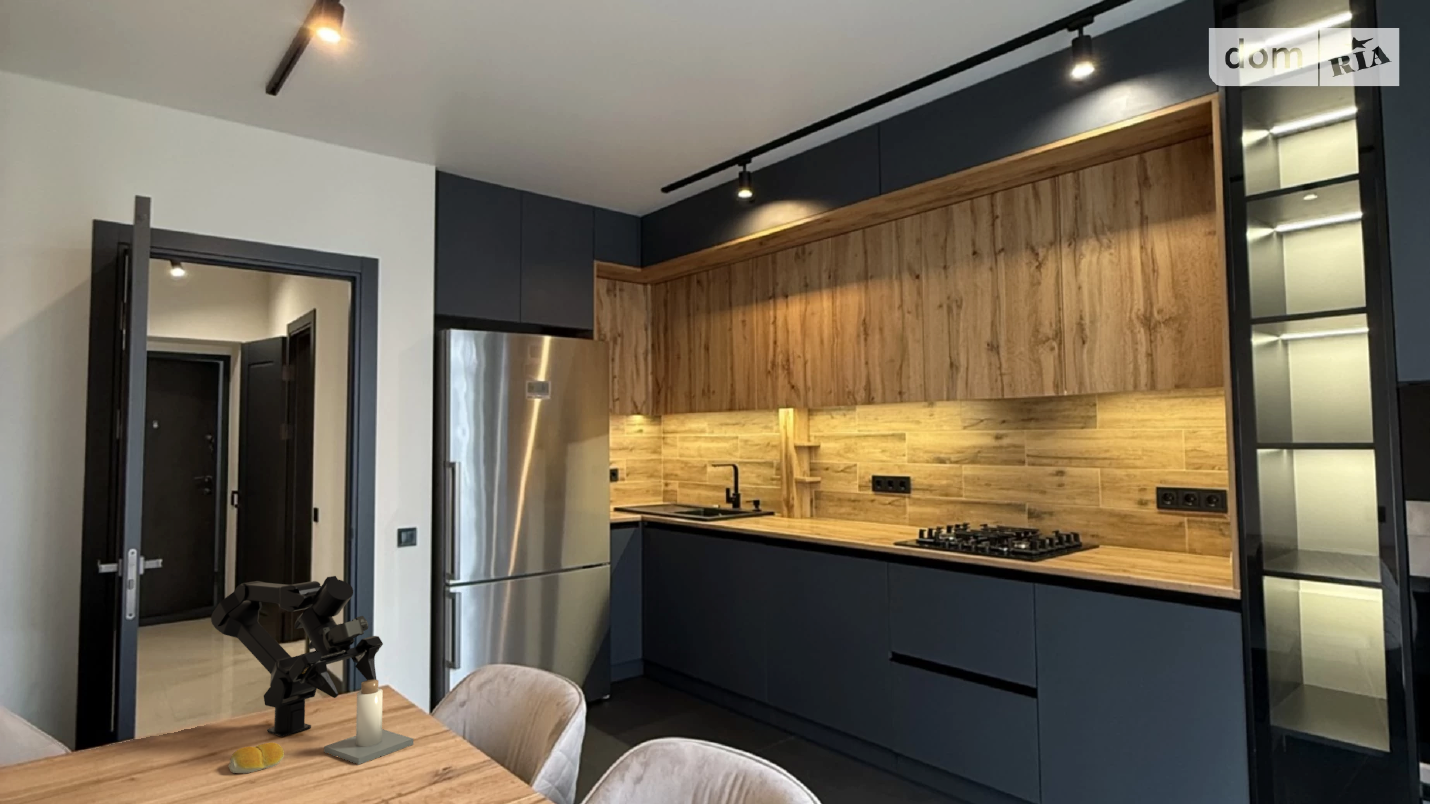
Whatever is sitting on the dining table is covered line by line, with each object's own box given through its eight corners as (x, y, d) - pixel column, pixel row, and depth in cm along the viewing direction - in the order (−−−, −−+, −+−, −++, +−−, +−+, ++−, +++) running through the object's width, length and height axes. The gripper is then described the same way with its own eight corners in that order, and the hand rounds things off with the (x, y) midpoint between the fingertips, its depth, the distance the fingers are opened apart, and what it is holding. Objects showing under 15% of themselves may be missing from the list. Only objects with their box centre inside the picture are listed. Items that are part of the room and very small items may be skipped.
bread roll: (289, 764, 145) (290, 743, 145) (236, 779, 138) (237, 756, 138) (275, 753, 150) (276, 732, 151) (224, 766, 144) (224, 745, 144)
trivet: (323, 752, 150) (324, 746, 150) (378, 733, 160) (378, 728, 160) (358, 764, 143) (358, 758, 143) (413, 744, 153) (413, 738, 153)
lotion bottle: (350, 746, 150) (351, 685, 151) (365, 737, 154) (366, 678, 155) (372, 747, 149) (373, 685, 150) (386, 738, 154) (387, 678, 155)
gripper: (300, 614, 150) (335, 677, 144) (378, 598, 166) (412, 654, 161) (273, 650, 152) (307, 713, 147) (353, 631, 169) (386, 687, 163)
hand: (356, 690), depth 154 cm, fingers open, 9 cm apart
